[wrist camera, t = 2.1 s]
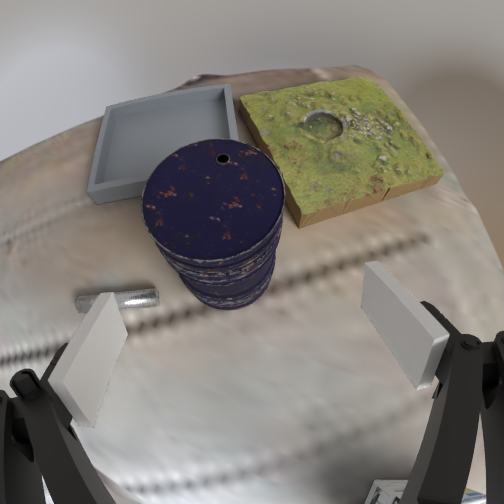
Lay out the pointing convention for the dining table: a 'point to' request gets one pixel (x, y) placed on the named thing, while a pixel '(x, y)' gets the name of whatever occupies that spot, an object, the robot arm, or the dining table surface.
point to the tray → (154, 136)
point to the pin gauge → (122, 300)
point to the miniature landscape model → (338, 146)
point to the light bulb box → (390, 491)
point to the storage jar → (217, 219)
